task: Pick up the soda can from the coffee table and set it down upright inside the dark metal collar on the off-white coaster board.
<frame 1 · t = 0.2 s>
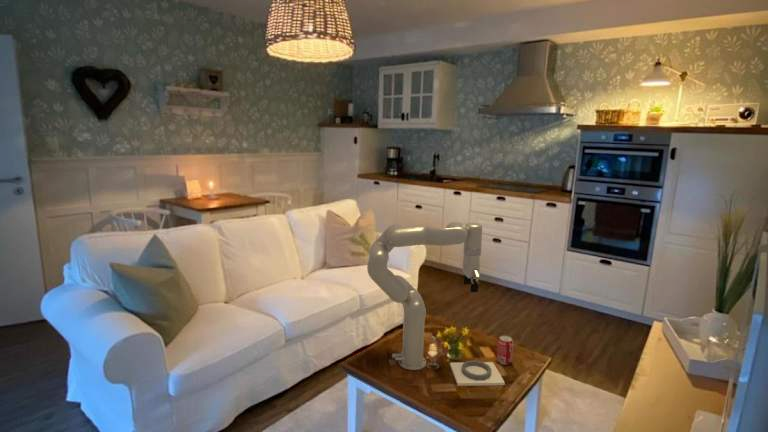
hand: (470, 288, 182), 36 cm above the table, tool pointing down, fingers open, 9 cm apart
collar board: (476, 374, 179), on the table
soda can: (504, 362, 189), on the table
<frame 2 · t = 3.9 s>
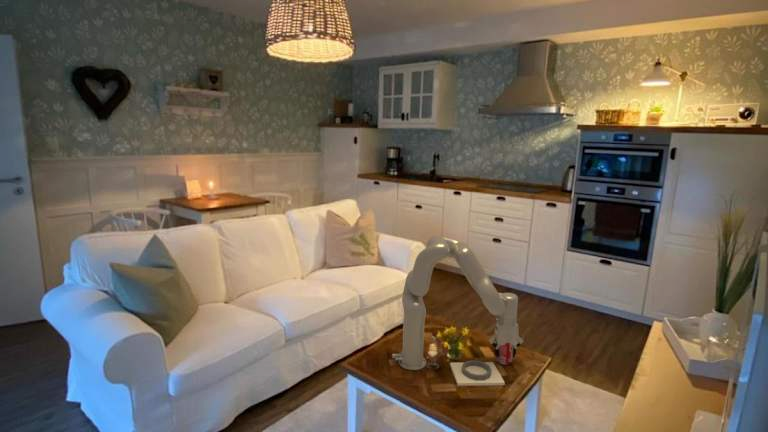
hand: (504, 355, 189), 3 cm above the table, tool pointing down, fingers closed on soda can, 6 cm apart
soda can: (504, 362, 189), on the table, touching gripper
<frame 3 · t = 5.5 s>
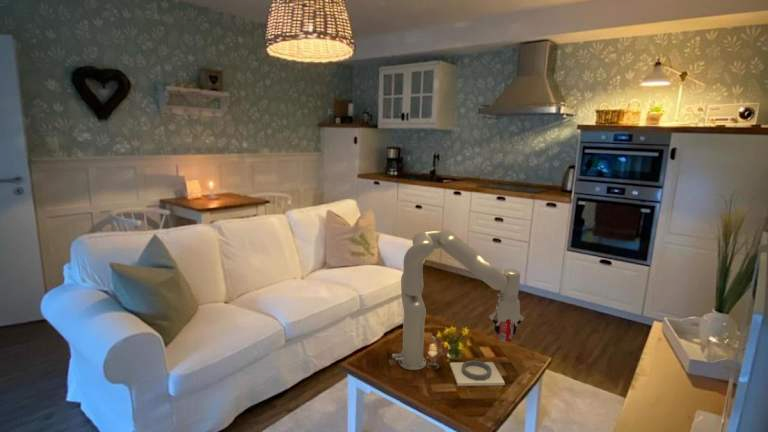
hand: (505, 332, 187), 15 cm above the table, tool pointing down, fingers closed on soda can, 6 cm apart
soda can: (504, 339, 187), point 11 cm above the table, touching gripper
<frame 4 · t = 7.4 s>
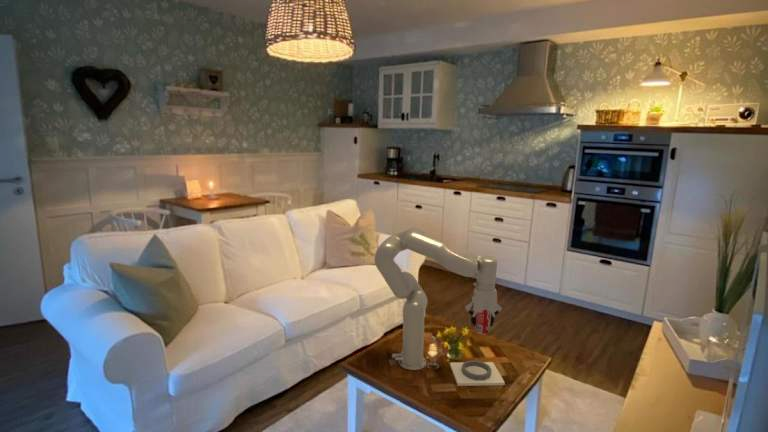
hand: (482, 324, 176), 23 cm above the table, tool pointing down, fingers closed on soda can, 6 cm apart
soda can: (481, 331, 176), point 20 cm above the table, touching gripper
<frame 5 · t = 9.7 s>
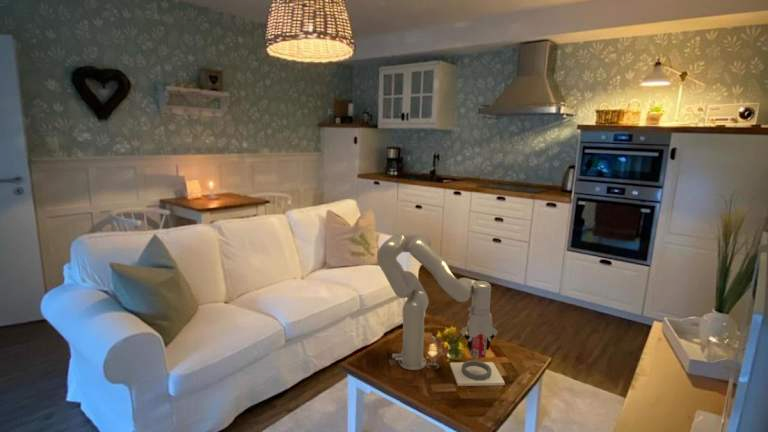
hand: (478, 348, 176), 13 cm above the table, tool pointing down, fingers closed on soda can, 6 cm apart
soda can: (477, 355, 177), point 9 cm above the table, touching gripper
when the fingers open (7 cm above the table, at t = 11.4 s): soda can drops 2 cm, resting on collar board.
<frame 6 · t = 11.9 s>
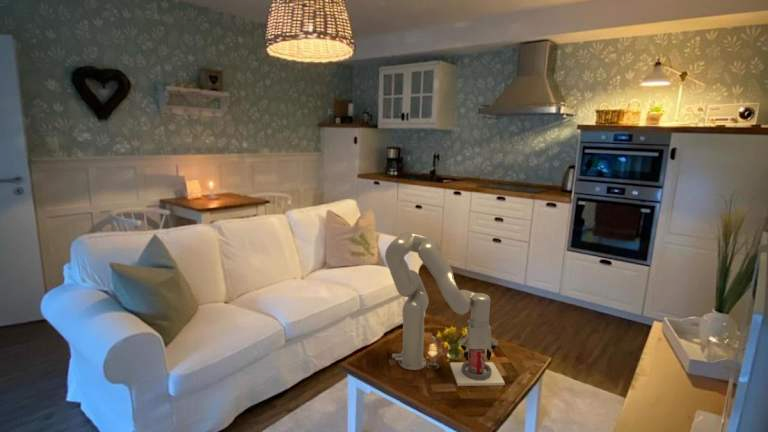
hand: (477, 358, 177), 8 cm above the table, tool pointing down, fingers open, 9 cm apart
soda can: (475, 372, 178), point 1 cm above the table, touching collar board
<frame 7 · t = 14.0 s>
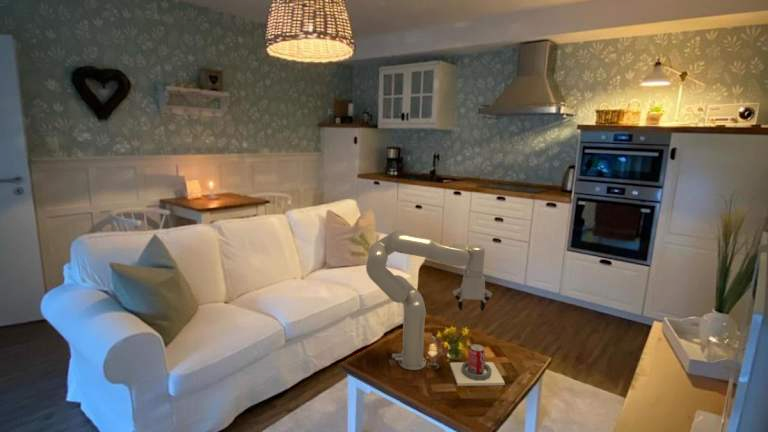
hand: (471, 309, 182), 27 cm above the table, tool pointing down, fingers open, 9 cm apart
nothing on the table moved.
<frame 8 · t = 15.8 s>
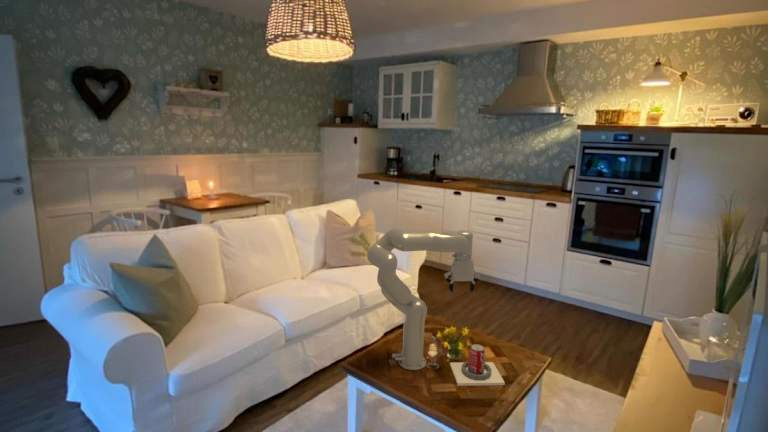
hand: (461, 291, 194), 30 cm above the table, tool pointing down, fingers open, 9 cm apart
nothing on the table moved.
at the end: soda can 0.4 cm off-centre on the collar board, point 1.0 cm above the collar board's base; soda can tilted 0°; the gripper is holding nothing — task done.
